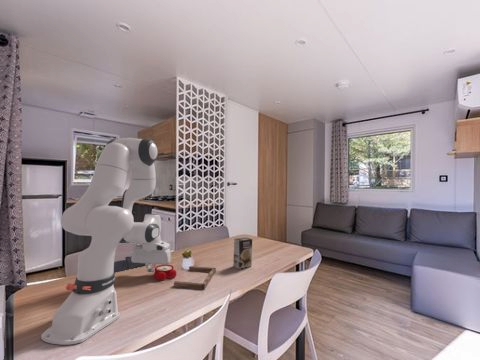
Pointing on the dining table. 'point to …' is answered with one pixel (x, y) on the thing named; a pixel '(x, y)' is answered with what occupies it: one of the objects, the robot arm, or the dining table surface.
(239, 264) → the coffee box
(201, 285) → the brown frame
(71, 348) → the dining table surface
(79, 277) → the robot arm
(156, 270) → the alarm clock
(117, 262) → the dark slate chunk
